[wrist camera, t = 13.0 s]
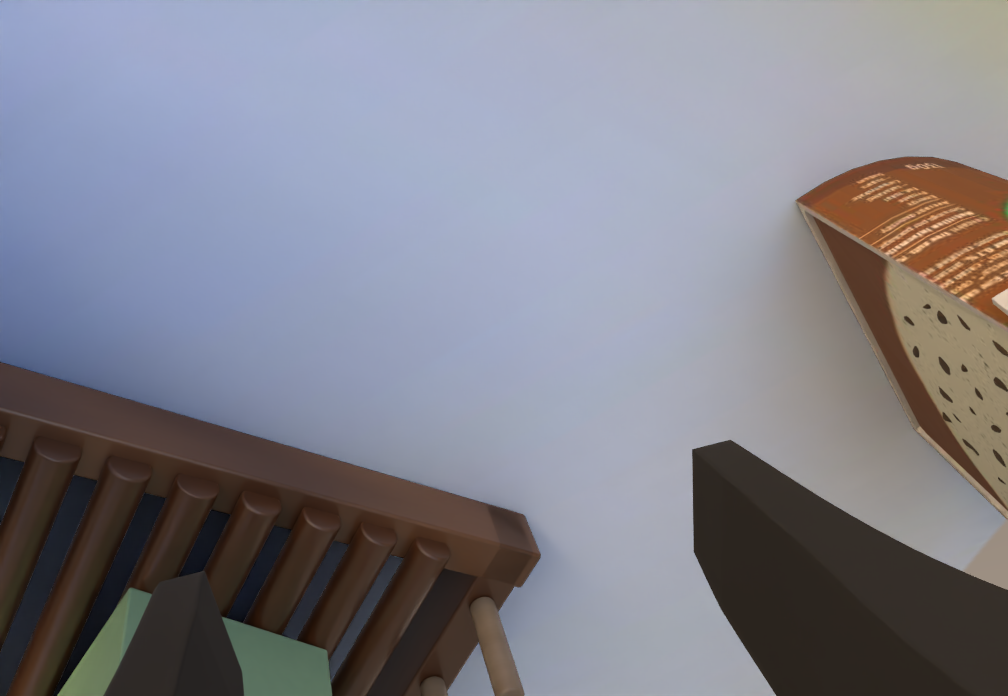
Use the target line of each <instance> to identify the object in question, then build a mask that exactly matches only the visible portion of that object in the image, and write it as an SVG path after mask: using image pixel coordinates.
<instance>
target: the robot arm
mask: <svg viewBox="0 0 1008 696" xmlns="http://www.w3.org/2000/svg"><path fill="white" fill-rule="evenodd" d="M692 457H693V524H694V553H695V555H696V557H697V559H698V562H699V564H700V566H701V568H702V570H703V572H704V575H705V577H706V579H707V581H708V583H709V585H710V587H711V589H712V591H713V594H714V596H715V598H716V600H717V602H718V604H719V606H720V608H721V610H722V611H723V613H724V615H725V616H726V618H727V619H728V621H729V623H730V624H731V626H732V627H733V629H734V630H735V632H736V634H737V635H738V637H739V638H740V640H741V641H742V643H743V645H744V646H745V648H746V649H747V651H748V652H749V654H750V656H751V657H752V659H753V660H754V662H755V663H756V665H757V666H758V668H759V669H760V671H761V673H762V674H763V676H764V677H765V679H766V680H767V682H768V683H769V685H770V686H771V688H772V689H773V691H774V693H775V694H776V696H1008V590H1006V589H1003V588H1001V587H998V586H996V585H993V584H991V583H988V582H986V581H983V580H981V579H978V578H976V577H974V576H971V575H969V574H967V573H965V572H962V571H960V570H958V569H956V568H953V567H951V566H949V565H947V564H944V563H942V562H940V561H938V560H935V559H933V558H931V557H929V556H927V555H925V554H923V553H921V552H919V551H917V550H914V549H912V548H910V547H908V546H907V545H905V544H903V543H901V542H899V541H897V540H895V539H893V538H891V537H890V536H888V535H886V534H884V533H882V532H880V531H878V530H876V529H874V528H873V527H871V526H869V525H867V524H865V523H864V522H862V521H860V520H858V519H857V518H855V517H853V516H851V515H849V514H848V513H846V512H844V511H843V510H841V509H839V508H838V507H836V506H834V505H833V504H831V503H829V502H828V501H826V500H824V499H823V498H821V497H819V496H818V495H816V494H814V493H813V492H811V491H810V490H808V489H806V488H805V487H803V486H802V485H800V484H798V483H797V482H795V481H794V480H792V479H791V478H789V477H788V476H786V475H784V474H783V473H781V472H780V471H778V470H777V469H775V468H774V467H772V466H770V465H769V464H767V463H766V462H764V461H763V460H761V459H760V458H758V457H757V456H755V455H754V454H752V453H750V452H749V451H747V450H746V449H744V448H743V447H741V446H740V445H738V444H736V443H735V442H733V441H731V440H728V441H724V442H720V443H716V444H712V445H708V446H704V447H700V448H696V449H692ZM103 696H244V687H243V676H242V670H241V667H240V665H239V662H238V659H237V656H236V654H235V651H234V648H233V646H232V643H231V640H230V638H229V635H228V632H227V630H226V627H225V624H224V622H223V619H222V616H221V614H220V611H219V608H218V606H217V603H216V600H215V598H214V595H213V592H212V589H211V587H210V584H209V581H208V579H207V576H206V573H205V571H202V572H198V573H194V574H190V575H185V576H181V577H177V578H173V579H169V580H165V581H161V582H159V584H158V585H157V587H156V588H155V589H154V591H153V593H152V596H151V598H150V600H149V602H148V605H147V607H146V609H145V611H144V614H143V616H142V618H141V620H140V622H139V625H138V627H137V629H136V631H135V633H134V635H133V638H132V640H131V642H130V644H129V646H128V648H127V650H126V652H125V654H124V656H123V658H122V660H121V662H120V664H119V666H118V668H117V670H116V672H115V674H114V676H113V678H112V680H111V682H110V684H109V686H108V688H107V690H106V691H105V693H104V695H103Z"/></svg>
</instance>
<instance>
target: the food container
mask: <svg viewBox="0 0 1008 696" xmlns="http://www.w3.org/2000/svg"><path fill="white" fill-rule="evenodd" d="M796 203H797V204H798V206H799V208H800V210H801V212H802V214H803V216H804V218H805V220H806V222H807V224H808V226H809V228H810V230H811V232H812V233H813V235H814V237H815V239H816V241H817V243H818V245H819V247H820V249H821V251H822V253H823V255H824V257H825V259H826V260H827V262H828V264H829V266H830V268H831V270H832V272H833V274H834V276H835V278H836V280H837V282H838V284H839V286H840V288H841V289H842V291H843V293H844V295H845V297H846V299H847V301H848V303H849V305H850V307H851V309H852V311H853V313H854V315H855V317H856V318H857V320H858V322H859V324H860V326H861V328H862V330H863V332H864V334H865V336H866V338H867V340H868V342H869V344H870V345H871V347H872V349H873V351H874V353H875V355H876V357H877V359H878V361H879V363H880V365H881V367H882V369H883V371H884V373H885V374H886V376H887V378H888V380H889V382H890V384H891V386H892V388H893V390H894V392H895V394H896V396H897V398H898V400H899V402H900V403H901V405H902V407H903V409H904V411H905V413H906V415H907V417H908V419H909V421H910V423H911V425H912V427H913V429H914V430H915V431H916V432H917V433H918V434H919V435H920V436H921V437H923V438H924V439H925V440H926V441H927V442H928V443H929V444H930V445H931V446H932V447H933V448H934V449H935V450H936V451H937V452H938V453H939V454H940V455H941V456H942V457H943V458H944V459H945V460H946V461H947V462H948V463H949V464H950V465H951V466H952V467H953V468H954V469H956V470H957V471H958V472H959V473H960V474H961V475H962V476H963V477H964V478H965V479H966V480H967V481H968V482H969V483H970V484H971V485H972V486H973V487H974V488H975V489H976V490H977V491H978V492H979V493H980V494H981V495H982V496H983V497H984V498H985V499H986V500H987V501H988V502H990V503H991V504H992V505H993V506H994V507H995V508H996V509H997V510H998V511H999V512H1000V513H1001V514H1002V515H1003V516H1004V517H1005V518H1006V519H1007V520H1008V180H1005V179H1002V178H999V177H997V176H994V175H991V174H988V173H985V172H983V171H980V170H977V169H974V168H971V167H968V166H966V165H963V164H960V163H957V162H954V161H949V160H944V159H939V158H934V157H901V158H895V159H888V160H882V161H877V162H874V163H871V164H868V165H864V166H861V167H858V168H855V169H852V170H850V171H847V172H845V173H843V174H841V175H839V176H837V177H834V178H832V179H830V180H828V181H826V182H824V183H822V184H821V185H819V186H818V187H816V188H814V189H813V190H811V191H810V192H808V193H807V194H805V195H803V196H802V197H800V198H799V199H797V200H796Z"/></svg>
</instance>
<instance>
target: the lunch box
mask: <svg viewBox="0 0 1008 696" xmlns="http://www.w3.org/2000/svg"><path fill="white" fill-rule="evenodd" d="M151 596H152V594H150V593H147V592H144V591H141V590H138V589H134V588H129V589H128V591H127V592H126V594H125V595H124V597H123V598H122V600H121V601H120V603H119V604H118V606H117V607H116V609H115V610H114V612H113V613H112V615H111V616H110V618H109V619H108V621H107V622H106V624H105V625H104V627H103V628H102V630H101V631H100V633H99V634H98V636H97V637H96V639H95V640H94V642H93V643H92V645H91V646H90V648H89V649H88V650H87V652H86V653H85V655H84V656H83V658H82V659H81V661H80V662H79V664H78V665H77V667H76V668H75V670H74V671H73V673H72V674H71V676H70V677H69V679H68V680H67V682H66V683H65V685H64V686H63V688H62V689H61V691H60V692H59V694H58V695H57V696H103V695H104V693H105V691H106V690H107V688H108V686H109V684H110V682H111V680H112V678H113V676H114V674H115V672H116V670H117V668H118V666H119V664H120V662H121V660H122V658H123V656H124V654H125V652H126V650H127V648H128V646H129V644H130V642H131V640H132V638H133V635H134V633H135V631H136V629H137V627H138V625H139V622H140V620H141V618H142V616H143V614H144V611H145V609H146V607H147V605H148V602H149V600H150V598H151ZM222 619H223V622H224V624H225V627H226V630H227V632H228V635H229V638H230V640H231V643H232V646H233V648H234V651H235V654H236V656H237V659H238V662H239V665H240V667H241V670H242V676H243V687H244V696H332V688H331V679H330V670H329V661H328V652H327V650H325V649H322V648H319V647H316V646H313V645H309V644H306V643H303V642H300V641H297V640H294V639H291V638H288V637H284V636H281V635H278V634H275V633H272V632H269V631H266V630H263V629H259V628H256V627H253V626H250V625H247V624H244V623H241V622H238V621H234V620H231V619H228V618H225V617H222Z"/></svg>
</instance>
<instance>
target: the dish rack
mask: <svg viewBox="0 0 1008 696" xmlns="http://www.w3.org/2000/svg"><path fill="white" fill-rule="evenodd" d="M0 456H1V457H5V458H9V459H13V460H17V461H21V462H25V463H24V465H23V468H22V470H21V473H20V475H19V478H18V481H17V483H16V486H15V488H14V491H13V493H12V496H11V498H10V501H9V504H8V506H7V509H6V511H5V514H4V516H3V519H2V521H1V524H0V652H1V649H2V647H3V644H4V642H5V640H6V637H7V635H8V632H9V630H10V628H11V625H12V623H13V620H14V618H15V616H16V613H17V611H18V608H19V606H20V604H21V601H22V599H23V596H24V594H25V592H26V589H27V587H28V584H29V582H30V579H31V577H32V575H33V572H34V570H35V567H36V565H37V563H38V560H39V558H40V555H41V553H42V551H43V548H44V546H45V543H46V541H47V539H48V536H49V534H50V531H51V529H52V526H53V524H54V522H55V519H56V517H57V514H58V512H59V510H60V507H61V505H62V502H63V500H64V498H65V495H66V493H67V490H68V488H69V486H70V483H71V481H72V478H73V476H74V475H76V476H80V477H84V478H88V479H92V480H96V481H97V483H96V486H95V488H94V490H93V493H92V495H91V497H90V500H89V502H88V504H87V507H86V509H85V511H84V514H83V516H82V519H81V521H80V523H79V526H78V528H77V530H76V533H75V535H74V537H73V540H72V542H71V544H70V547H69V549H68V551H67V554H66V556H65V558H64V561H63V563H62V565H61V568H60V570H59V572H58V575H57V577H56V579H55V582H54V584H53V586H52V589H51V591H50V593H49V596H48V598H47V600H46V603H45V605H44V608H43V610H42V612H41V615H40V617H39V619H38V622H37V624H36V626H35V629H34V631H33V633H32V636H31V638H30V640H29V643H28V645H27V647H26V650H25V652H24V654H23V657H22V659H21V661H20V664H19V666H18V668H17V671H16V673H15V675H14V678H13V680H12V682H11V685H10V687H9V689H8V692H7V694H6V696H53V695H54V692H55V690H56V688H57V686H58V684H59V681H60V679H61V677H62V675H63V672H64V670H65V668H66V666H67V664H68V661H69V659H70V657H71V655H72V652H73V650H74V648H75V646H76V644H77V641H78V639H79V637H80V635H81V632H82V630H83V628H84V626H85V624H86V621H87V619H88V617H89V615H90V612H91V610H92V608H93V606H94V604H95V601H96V599H97V597H98V595H99V592H100V590H101V588H102V586H103V584H104V581H105V579H106V577H107V575H108V572H109V570H110V568H111V566H112V564H113V561H114V559H115V557H116V555H117V553H118V550H119V548H120V546H121V544H122V541H123V539H124V537H125V535H126V533H127V530H128V528H129V526H130V524H131V521H132V519H133V517H134V515H135V513H136V510H137V508H138V506H139V504H140V501H141V499H142V497H143V495H144V493H147V494H151V495H155V496H159V497H163V498H166V500H165V502H164V504H163V506H162V508H161V511H160V513H159V515H158V517H157V519H156V521H155V524H154V526H153V528H152V530H151V532H150V534H149V537H148V539H147V541H146V543H145V545H144V547H143V550H142V552H141V554H140V556H139V558H138V560H137V563H136V565H135V567H134V569H133V571H132V573H131V576H130V578H129V580H128V582H127V584H126V586H125V589H124V591H123V593H122V595H121V597H120V599H119V602H118V604H119V603H120V601H121V600H122V598H123V597H124V595H125V594H126V592H127V591H128V589H129V588H134V589H138V590H141V591H144V592H147V593H150V594H152V593H153V591H154V589H155V588H156V587H157V585H158V584H159V582H161V581H165V580H169V579H173V578H177V577H179V575H180V573H181V571H182V568H183V566H184V564H185V562H186V560H187V558H188V556H189V554H190V552H191V550H192V548H193V546H194V544H195V542H196V540H197V537H198V535H199V533H200V531H201V529H202V527H203V525H204V523H205V521H206V519H207V517H208V515H209V513H210V511H211V510H214V511H218V512H222V513H226V514H230V517H229V519H228V521H227V523H226V525H225V527H224V529H223V531H222V533H221V535H220V537H219V539H218V541H217V543H216V545H215V547H214V549H213V551H212V553H211V555H210V558H209V560H208V562H207V564H206V566H205V568H204V570H203V571H205V573H206V576H207V579H208V581H209V584H210V587H211V589H212V592H213V595H214V598H215V600H216V603H217V606H218V608H219V611H220V614H221V616H222V617H225V618H226V617H227V615H228V613H229V611H230V610H231V608H232V606H233V604H234V602H235V600H236V598H237V596H238V594H239V592H240V590H241V588H242V586H243V584H244V582H245V580H246V579H247V577H248V575H249V573H250V571H251V569H252V567H253V565H254V563H255V561H256V559H257V557H258V555H259V553H260V551H261V550H262V548H263V546H264V544H265V542H266V540H267V538H268V536H269V534H270V532H271V530H272V528H273V526H278V527H282V528H286V529H290V530H291V532H290V534H289V536H288V538H287V540H286V542H285V544H284V545H283V547H282V549H281V551H280V553H279V555H278V557H277V559H276V561H275V563H274V564H273V566H272V568H271V570H270V572H269V574H268V576H267V578H266V580H265V582H264V584H263V585H262V587H261V589H260V591H259V593H258V595H257V597H256V599H255V601H254V603H253V604H252V606H251V608H250V610H249V612H248V614H247V616H246V618H245V620H244V622H243V623H244V624H247V625H250V626H253V627H256V628H259V629H263V630H266V631H269V632H272V633H275V634H278V635H281V636H282V634H283V632H284V630H285V628H286V627H287V625H288V623H289V621H290V619H291V617H292V616H293V614H294V612H295V610H296V608H297V606H298V605H299V603H300V601H301V599H302V597H303V595H304V594H305V592H306V590H307V588H308V586H309V585H310V583H311V581H312V579H313V577H314V575H315V574H316V572H317V570H318V568H319V566H320V564H321V563H322V561H323V559H324V557H325V555H326V553H327V552H328V550H329V548H330V546H331V544H332V542H333V541H337V542H341V543H345V544H349V546H348V547H347V549H346V551H345V553H344V555H343V556H342V558H341V560H340V562H339V564H338V565H337V567H336V569H335V571H334V573H333V575H332V576H331V578H330V580H329V582H328V584H327V585H326V587H325V589H324V591H323V593H322V594H321V596H320V598H319V600H318V602H317V603H316V605H315V607H314V609H313V611H312V612H311V614H310V616H309V618H308V620H307V621H306V623H305V625H304V627H303V629H302V630H301V632H300V634H299V636H298V638H297V639H296V640H297V641H300V642H303V643H306V644H309V645H313V646H316V647H319V648H322V649H325V650H327V652H328V661H329V660H330V658H331V656H332V655H333V653H334V651H335V649H336V648H337V646H338V644H339V642H340V641H341V639H342V637H343V636H344V634H345V632H346V630H347V629H348V627H349V625H350V623H351V622H352V620H353V618H354V616H355V615H356V613H357V611H358V610H359V608H360V606H361V604H362V603H363V601H364V599H365V597H366V596H367V594H368V592H369V590H370V589H371V587H372V585H373V584H374V582H375V580H376V578H377V577H378V575H379V573H380V571H381V570H382V568H383V566H384V564H385V563H386V561H387V559H388V558H389V556H390V555H392V556H396V557H400V558H403V560H402V562H401V564H400V565H399V567H398V569H397V570H396V572H395V574H394V576H393V577H392V579H391V581H390V582H389V584H388V586H387V588H386V589H385V591H384V593H383V594H382V596H381V598H380V600H379V601H378V603H377V605H376V606H375V608H374V610H373V612H372V613H371V615H370V617H369V618H368V620H367V622H366V624H365V625H364V627H363V629H362V630H361V632H360V634H359V636H358V637H357V639H356V641H355V642H354V644H353V646H352V648H351V649H350V651H349V653H348V654H347V656H346V658H345V660H344V661H343V663H342V665H341V666H340V668H339V670H338V671H337V673H336V675H335V677H334V678H333V680H332V682H331V688H332V696H448V694H447V690H448V689H449V687H450V686H451V684H452V683H453V681H454V680H455V678H456V676H457V675H458V673H459V672H460V670H461V669H462V667H463V666H464V664H465V663H466V661H467V659H468V658H469V656H470V655H471V653H472V652H473V650H474V649H475V647H476V645H477V644H478V642H479V644H480V647H481V650H482V654H483V657H484V661H485V664H486V667H487V671H488V674H489V678H490V681H491V685H492V688H493V691H494V695H495V696H524V690H523V687H522V684H521V681H520V678H519V675H518V672H517V669H516V666H515V662H514V659H513V656H512V653H511V650H510V647H509V644H508V641H507V638H506V635H505V632H504V629H503V626H502V623H501V620H500V617H499V614H498V611H499V610H500V608H501V607H502V605H503V603H504V602H505V600H506V599H507V597H508V596H509V594H510V593H511V591H512V590H513V588H514V586H515V587H521V586H522V585H523V584H524V582H525V581H526V579H527V578H528V576H529V574H530V573H531V571H532V570H533V568H534V567H535V565H536V564H537V562H538V561H539V559H540V556H541V554H540V552H539V549H538V547H537V544H536V542H535V539H534V537H533V535H532V532H531V530H530V527H529V525H528V522H527V520H526V517H525V516H524V515H523V514H520V513H517V512H513V511H510V510H506V509H503V508H500V507H496V506H493V505H489V504H486V503H482V502H479V501H475V500H472V499H468V498H465V497H461V496H458V495H455V494H451V493H448V492H444V491H441V490H437V489H434V488H431V487H427V486H424V485H420V484H417V483H413V482H410V481H407V480H403V479H400V478H396V477H393V476H389V475H386V474H383V473H379V472H376V471H372V470H369V469H365V468H362V467H359V466H355V465H352V464H348V463H345V462H341V461H338V460H334V459H331V458H328V457H324V456H321V455H317V454H314V453H310V452H307V451H304V450H300V449H297V448H293V447H290V446H286V445H283V444H280V443H276V442H273V441H269V440H266V439H262V438H259V437H256V436H252V435H249V434H245V433H242V432H238V431H235V430H232V429H228V428H225V427H221V426H218V425H214V424H211V423H207V422H204V421H201V420H197V419H194V418H190V417H187V416H183V415H180V414H177V413H173V412H170V411H166V410H163V409H159V408H156V407H153V406H149V405H146V404H142V403H139V402H135V401H132V400H129V399H125V398H122V397H118V396H115V395H111V394H108V393H105V392H101V391H98V390H94V389H91V388H87V387H84V386H80V385H77V384H74V383H70V382H67V381H63V380H60V379H56V378H53V377H50V376H46V375H43V374H39V373H36V372H32V371H29V370H26V369H22V368H19V367H15V366H12V365H8V364H5V363H2V362H0ZM118 604H117V606H118ZM117 606H116V607H117ZM115 609H116V608H115Z"/></svg>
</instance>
